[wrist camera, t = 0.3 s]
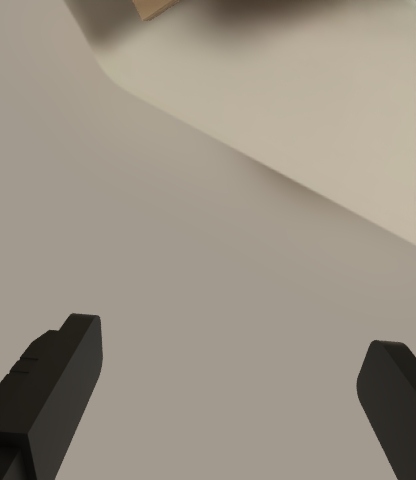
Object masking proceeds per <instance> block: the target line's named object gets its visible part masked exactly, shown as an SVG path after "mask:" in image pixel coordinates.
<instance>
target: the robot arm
mask: <svg viewBox="0 0 416 480" xmlns="http://www.w3.org/2000/svg"><path fill="white" fill-rule="evenodd" d="M102 360H103V353H102V336H101V320H100V317H99V316H97V315H86V314H75V313H73V314H71V315H70V316H69V317H68V318H67V320H66V321H65V323H64V324H63V325H62V327H61V328H60V330H59V331H56V330H49V331H47V332H46V333H44V334H43V335H41V336H40V337H39V338H37V339H36V340H34V341H33V342H32V343H31V344H30V345H29V347H28V348H27V349H26V350H25V352H24V353H23V354H22V356H21V357H20V360H19V361H17V362H16V363H15V365H14V366H13V367H12V368H11V370H10V373H9V374H7V375H6V376H5V377H4V379H3V380H2V381H1V382H0V480H55V477H56V475H57V473H58V470H59V468H60V466H61V464H62V461H63V459H64V456H65V454H66V452H67V450H68V447H69V445H70V443H71V440H72V438H73V436H74V434H75V431H76V429H77V426H78V424H79V422H80V420H81V417H82V415H83V413H84V410H85V408H86V406H87V404H88V401H89V399H90V396H91V394H92V392H93V390H94V387H95V385H96V383H97V380H98V378H99V375H100V372H101V367H102ZM357 394H358V398H359V401H360V403H361V405H362V407H363V409H364V411H365V413H366V415H367V417H368V419H369V422H370V423H371V426H372V428H373V430H374V432H375V434H376V436H377V438H378V440H379V442H380V444H381V446H382V448H383V450H384V452H385V454H386V456H387V458H388V461H389V463H390V464H391V466H392V469H393V471H394V473H395V475H396V477H397V479H398V480H416V357H415V356H414V354H413V353H412V352H411V351H410V349H409V348H408V347H407V346H406V345H405V344H404V343H401V342H391V341H379V340H374V341H373V342H371V344H370V346H369V348H368V351H367V354H366V357H365V359H364V362H363V365H362V367H361V370H360V373H359V375H358V378H357Z"/></svg>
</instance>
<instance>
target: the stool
mask: <svg viewBox="0 0 416 480" xmlns="http://www.w3.org/2000/svg"><path fill="white" fill-rule="evenodd" d="M132 1H133V3H134V5H135V7H136V9H137V11H138V13H139V15H140V17H141V19H142V21H147V20H152V19H153V18H155V17H156V16H158V15H159V14H161V13H162V12H164V11H165V10H167V9H168V8H170V7H171V6H173V5H174V4H176V3H177V2H179V1H180V0H132Z"/></svg>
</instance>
